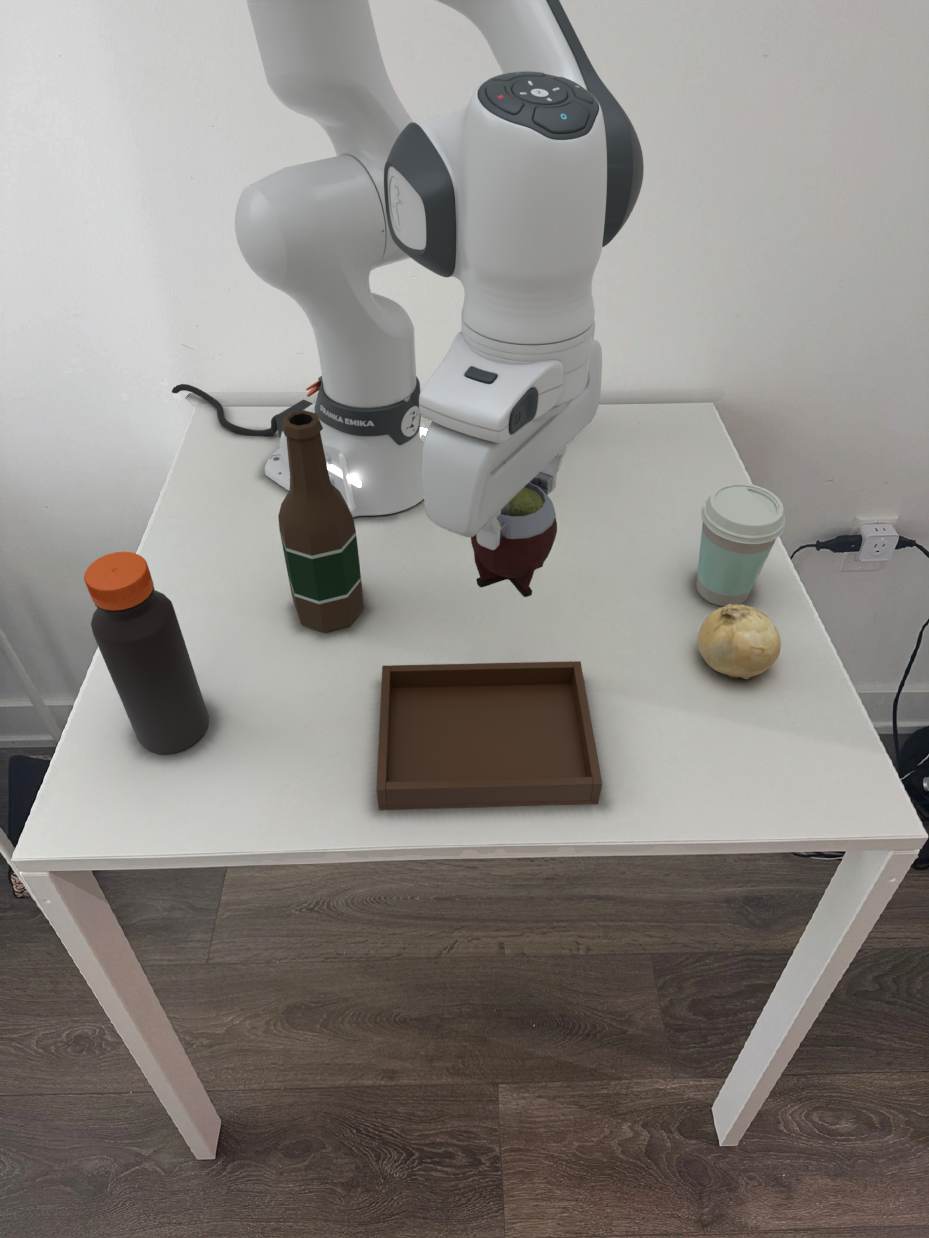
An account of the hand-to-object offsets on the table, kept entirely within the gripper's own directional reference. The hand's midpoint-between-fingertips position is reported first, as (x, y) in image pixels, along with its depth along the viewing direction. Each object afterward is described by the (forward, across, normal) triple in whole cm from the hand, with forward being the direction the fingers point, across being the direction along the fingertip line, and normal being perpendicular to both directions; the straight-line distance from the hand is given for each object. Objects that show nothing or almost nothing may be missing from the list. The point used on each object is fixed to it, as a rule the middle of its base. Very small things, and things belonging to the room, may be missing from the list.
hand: (516, 516), depth 69 cm
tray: (+23, +5, 0) cm, 24 cm away
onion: (+24, -18, +17) cm, 34 cm away
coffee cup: (+24, -28, +12) cm, 38 cm away
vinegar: (+23, +20, -26) cm, 40 cm away
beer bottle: (+23, -1, -24) cm, 33 cm away
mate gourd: (+6, 0, 0) cm, 7 cm away
